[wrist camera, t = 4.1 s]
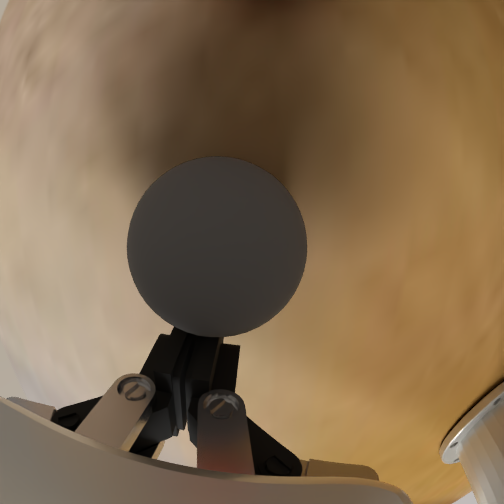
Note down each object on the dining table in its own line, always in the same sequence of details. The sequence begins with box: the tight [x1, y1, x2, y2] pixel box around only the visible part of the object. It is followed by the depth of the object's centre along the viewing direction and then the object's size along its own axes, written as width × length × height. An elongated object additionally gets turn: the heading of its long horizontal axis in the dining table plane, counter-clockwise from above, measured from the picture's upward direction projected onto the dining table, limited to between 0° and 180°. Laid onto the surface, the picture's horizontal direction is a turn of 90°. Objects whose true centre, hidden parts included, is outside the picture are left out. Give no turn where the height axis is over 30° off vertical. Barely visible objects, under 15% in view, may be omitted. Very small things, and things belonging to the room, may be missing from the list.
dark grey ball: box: [127, 156, 307, 337], centre depth 9 cm, size 6×6×6 cm
